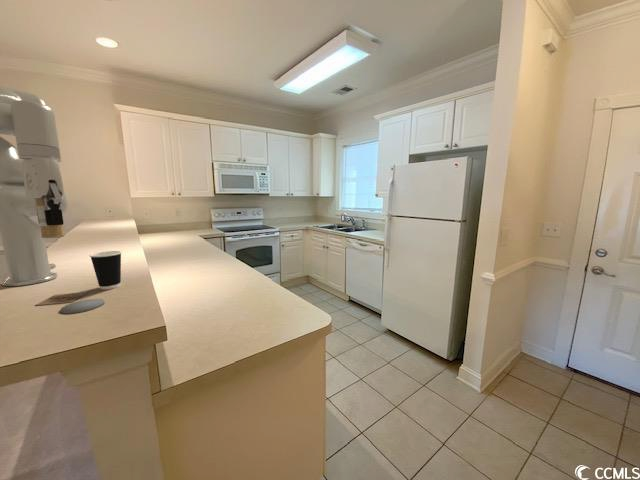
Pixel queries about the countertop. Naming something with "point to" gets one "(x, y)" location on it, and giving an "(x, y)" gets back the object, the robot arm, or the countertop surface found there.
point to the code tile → (62, 298)
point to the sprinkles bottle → (46, 230)
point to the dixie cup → (107, 268)
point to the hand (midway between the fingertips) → (51, 224)
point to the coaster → (82, 306)
